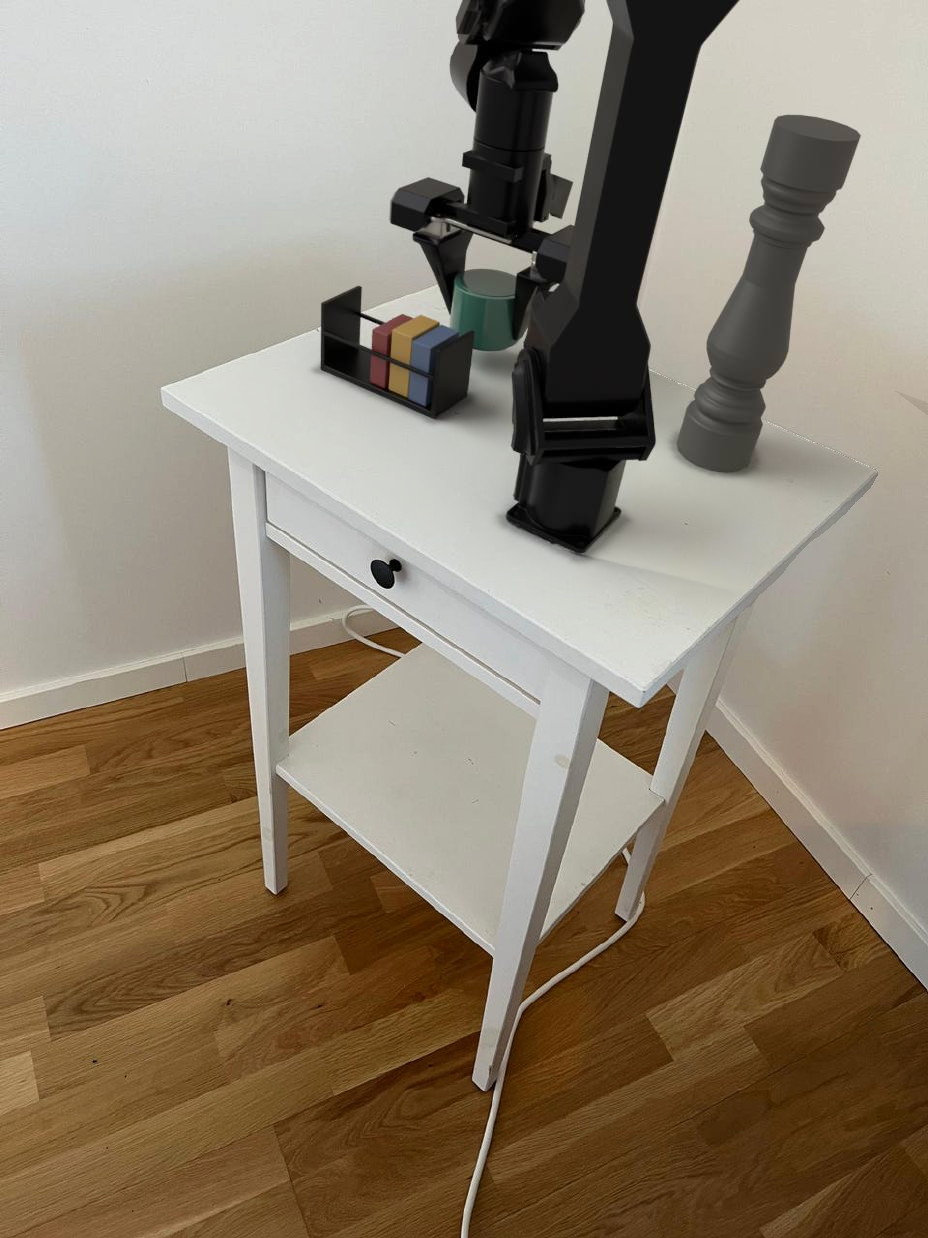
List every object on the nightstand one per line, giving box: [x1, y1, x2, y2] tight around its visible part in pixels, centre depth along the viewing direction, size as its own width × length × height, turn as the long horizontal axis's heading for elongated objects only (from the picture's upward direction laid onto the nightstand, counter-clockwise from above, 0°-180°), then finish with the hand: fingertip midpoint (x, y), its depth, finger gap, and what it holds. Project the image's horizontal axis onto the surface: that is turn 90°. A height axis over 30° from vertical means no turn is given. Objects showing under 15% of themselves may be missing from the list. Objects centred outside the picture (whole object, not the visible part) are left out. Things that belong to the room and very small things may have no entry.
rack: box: [320, 285, 475, 420], centre depth 82 cm, size 12×5×6 cm, turn 57°
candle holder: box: [676, 114, 862, 473], centre depth 73 cm, size 6×6×25 cm
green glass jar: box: [448, 268, 520, 352], centre depth 86 cm, size 6×6×5 cm
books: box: [370, 313, 460, 406], centre depth 81 cm, size 6×4×5 cm
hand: (485, 326), depth 87 cm, fingers closed on green glass jar, 6 cm apart
